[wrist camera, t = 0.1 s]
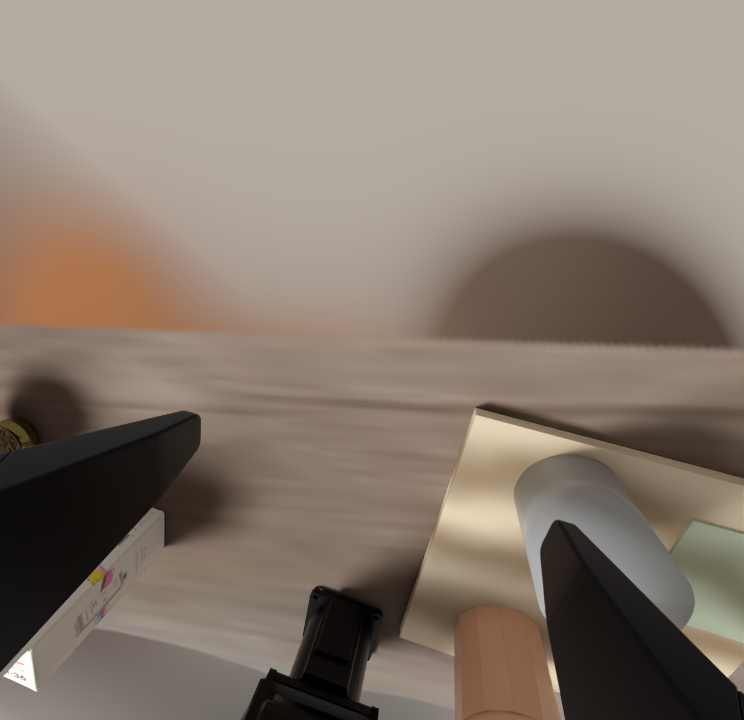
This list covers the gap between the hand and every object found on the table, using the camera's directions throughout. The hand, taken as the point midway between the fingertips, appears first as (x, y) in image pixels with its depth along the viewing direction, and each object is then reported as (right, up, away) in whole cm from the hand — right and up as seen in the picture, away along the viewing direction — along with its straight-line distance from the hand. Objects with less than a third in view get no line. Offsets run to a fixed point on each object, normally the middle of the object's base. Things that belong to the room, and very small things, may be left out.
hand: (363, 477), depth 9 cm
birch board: (+15, -13, +17) cm, 26 cm away
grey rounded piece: (+13, -6, +14) cm, 20 cm away
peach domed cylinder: (+10, -19, +19) cm, 29 cm away
